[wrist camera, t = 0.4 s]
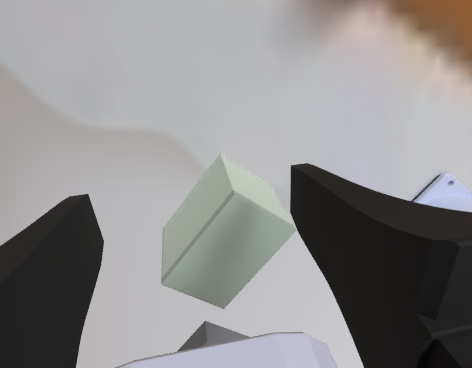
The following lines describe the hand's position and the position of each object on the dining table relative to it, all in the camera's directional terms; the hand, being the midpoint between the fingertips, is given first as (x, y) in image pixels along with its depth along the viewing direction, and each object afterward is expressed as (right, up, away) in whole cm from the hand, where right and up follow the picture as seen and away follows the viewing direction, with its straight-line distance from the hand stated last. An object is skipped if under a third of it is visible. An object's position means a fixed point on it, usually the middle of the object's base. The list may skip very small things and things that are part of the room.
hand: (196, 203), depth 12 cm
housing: (0, -1, +12) cm, 12 cm away
